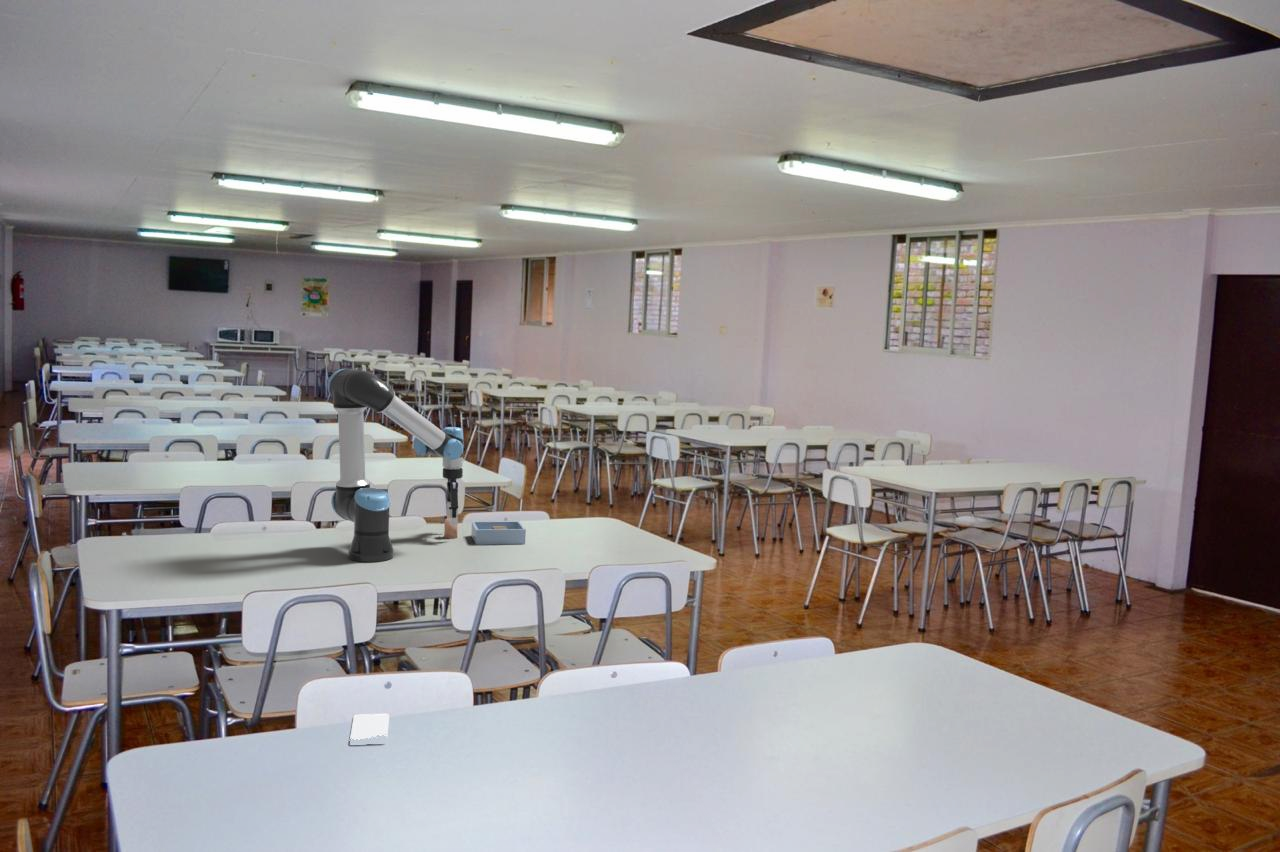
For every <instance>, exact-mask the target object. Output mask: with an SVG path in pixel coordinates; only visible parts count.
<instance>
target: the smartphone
mask: <svg viewBox="0 0 1280 852" xmlns="http://www.w3.org/2000/svg"><path fill="white" fill-rule="evenodd" d="M389 727H390V714H389V713H385V712H384V713H360V714H355V715H353V719H352V725H351V730H350V737H349V740H350V739H351V738H352V739H354V740H356V739H358V740H360V739H365V738H368V739H369V738H371V737H372V736H373V737H376V736H377V735H379V736H382V735H384V736H386V737H387V736H388V735H389ZM385 734H386V735H385ZM373 737H372V738H373ZM376 738H377V737H376ZM387 738H388V737H387ZM352 739H351V740H352Z"/></svg>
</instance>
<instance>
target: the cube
mask: <svg viewBox="0 0 1280 852" xmlns="http://www.w3.org/2000/svg"><path fill="white" fill-rule="evenodd" d="M492 529H507V528H506V526H492Z"/></svg>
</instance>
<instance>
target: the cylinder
mask: <svg viewBox="0 0 1280 852" xmlns="http://www.w3.org/2000/svg"><path fill="white" fill-rule="evenodd" d="M458 526H459V522H457V526H450V518H448V519H447V518H444V530H443V531H444V532H443V534H444V535H443V538H444V539H448V540H453V539H457V538H458V531H459V529H458Z"/></svg>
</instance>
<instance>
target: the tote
mask: <svg viewBox="0 0 1280 852" xmlns="http://www.w3.org/2000/svg"><path fill="white" fill-rule="evenodd" d="M492 526H506V528H507V529H492ZM470 533H471V538H472V540H473V542H474V543H475V546H477V545H478V546H480V545H485V546H486V545H490V546H491V545H525V544H526V536H527V535H526V528H525V527H524V525H523V524H522V523H521V521H519V520H517V521H514V520H512V521H510V520H509V521H507V520H506V521H505V520H504V521H502V520H501V521H500V520H498V521H495V520H494V521H471V532H470Z"/></svg>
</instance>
